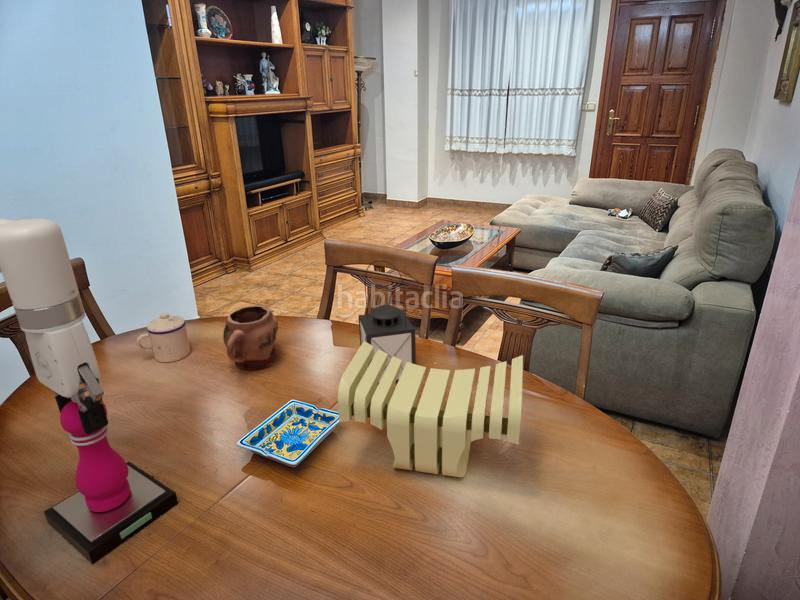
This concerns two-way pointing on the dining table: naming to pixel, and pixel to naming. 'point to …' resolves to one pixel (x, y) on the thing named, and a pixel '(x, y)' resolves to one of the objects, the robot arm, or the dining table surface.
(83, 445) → the pepper mill
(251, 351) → the decorative planter
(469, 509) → the dining table surface
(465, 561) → the dining table surface
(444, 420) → the slatted curved stool
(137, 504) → the kitchen scale
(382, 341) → the lantern
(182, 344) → the teacup with lid
